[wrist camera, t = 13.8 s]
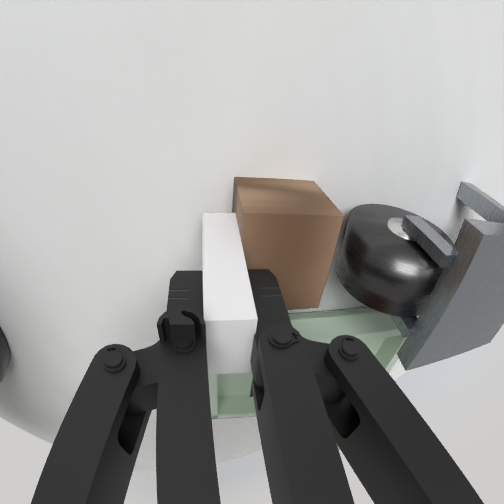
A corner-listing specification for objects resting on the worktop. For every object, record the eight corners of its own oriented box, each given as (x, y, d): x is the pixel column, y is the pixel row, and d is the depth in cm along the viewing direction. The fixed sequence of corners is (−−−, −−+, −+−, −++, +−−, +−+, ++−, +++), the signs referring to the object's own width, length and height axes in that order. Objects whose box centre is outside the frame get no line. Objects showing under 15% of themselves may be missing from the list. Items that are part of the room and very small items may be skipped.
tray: (206, 395, 25) (208, 419, 23) (202, 316, 19) (203, 346, 17) (362, 377, 27) (370, 397, 25) (405, 302, 21) (419, 324, 19)
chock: (229, 261, 17) (236, 311, 14) (234, 176, 14) (243, 213, 11) (297, 260, 18) (318, 307, 14) (312, 180, 15) (343, 216, 11)
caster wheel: (312, 281, 18) (356, 382, 12) (340, 156, 14) (432, 231, 8) (437, 274, 20) (489, 342, 14) (473, 181, 16) (550, 239, 10)
